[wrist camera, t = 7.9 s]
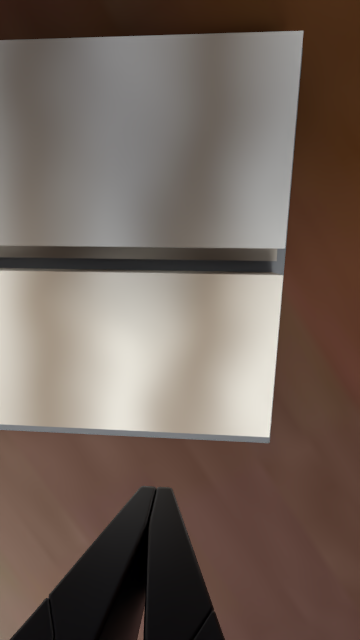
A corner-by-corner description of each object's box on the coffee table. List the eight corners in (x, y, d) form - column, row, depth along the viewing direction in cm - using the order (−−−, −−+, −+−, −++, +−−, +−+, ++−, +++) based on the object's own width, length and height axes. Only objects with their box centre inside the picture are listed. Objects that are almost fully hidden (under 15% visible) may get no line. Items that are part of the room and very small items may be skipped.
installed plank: (288, 63, 12) (303, 30, 10) (273, 260, 13) (284, 261, 12) (-145, 74, 13) (-199, 46, 11) (-111, 255, 15) (-154, 255, 13)
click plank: (272, 272, 14) (283, 275, 12) (261, 415, 15) (269, 437, 13) (-111, 266, 15) (-153, 268, 13) (-84, 400, 16) (-119, 418, 14)
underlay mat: (297, 58, 12) (302, 48, 12) (266, 436, 16) (269, 443, 15) (-143, 69, 13) (-159, 61, 13) (-78, 419, 17) (-88, 425, 17)
